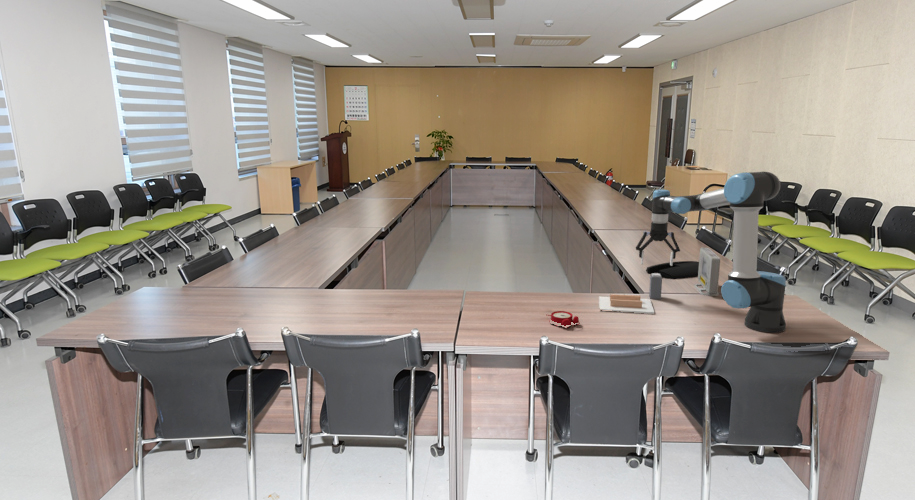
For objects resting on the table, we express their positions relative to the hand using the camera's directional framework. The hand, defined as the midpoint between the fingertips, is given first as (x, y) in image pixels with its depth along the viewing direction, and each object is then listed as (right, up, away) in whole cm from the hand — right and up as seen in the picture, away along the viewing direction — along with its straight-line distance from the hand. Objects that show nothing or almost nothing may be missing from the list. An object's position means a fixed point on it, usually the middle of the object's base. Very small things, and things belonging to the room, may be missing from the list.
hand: (656, 264), depth 266 cm
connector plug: (0, -16, +3) cm, 17 cm away
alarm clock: (-51, -25, -30) cm, 65 cm away
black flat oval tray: (+33, -6, +51) cm, 61 cm away
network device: (+31, -14, +14) cm, 37 cm away
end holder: (-18, -19, -8) cm, 28 cm away
